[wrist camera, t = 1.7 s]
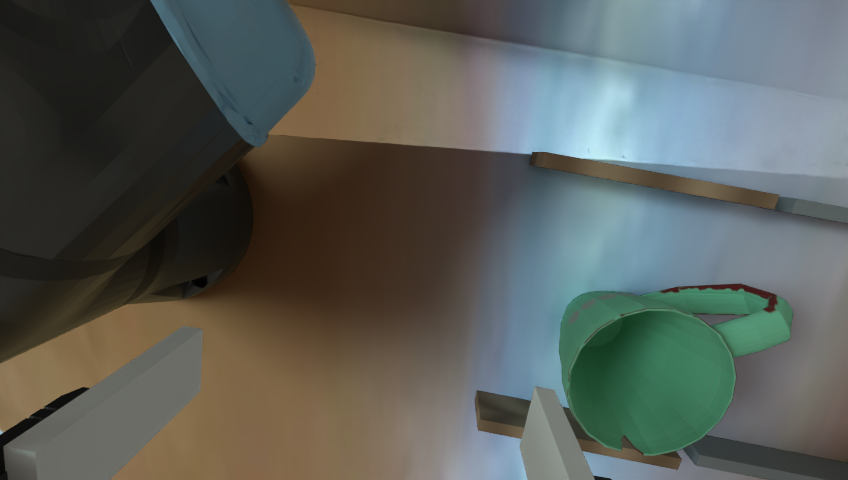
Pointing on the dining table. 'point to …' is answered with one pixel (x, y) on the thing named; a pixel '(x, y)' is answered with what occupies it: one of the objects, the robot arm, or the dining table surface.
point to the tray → (786, 471)
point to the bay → (512, 412)
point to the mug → (661, 360)
